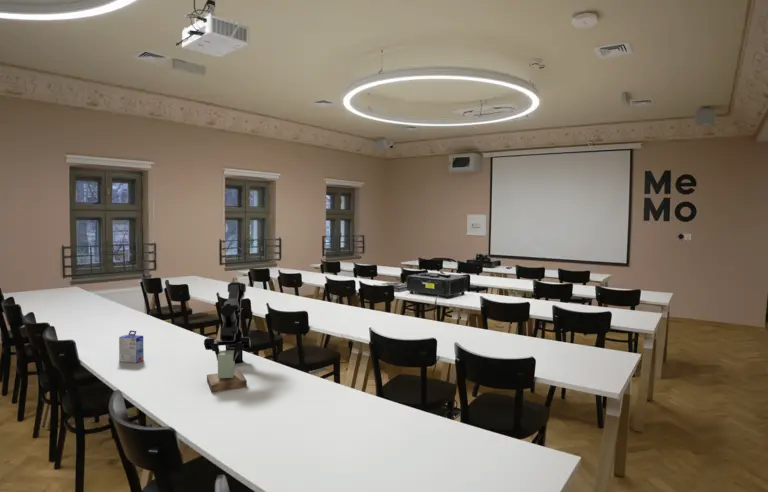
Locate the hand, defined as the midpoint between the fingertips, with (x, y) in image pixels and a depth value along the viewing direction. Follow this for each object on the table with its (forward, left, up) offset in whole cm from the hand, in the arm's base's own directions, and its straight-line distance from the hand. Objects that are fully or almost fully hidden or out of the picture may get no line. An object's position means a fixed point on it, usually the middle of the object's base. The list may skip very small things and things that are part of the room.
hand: (225, 361), depth 201 cm
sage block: (0, -1, -7) cm, 7 cm away
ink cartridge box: (+36, -53, -11) cm, 65 cm away
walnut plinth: (0, -1, -10) cm, 10 cm away
